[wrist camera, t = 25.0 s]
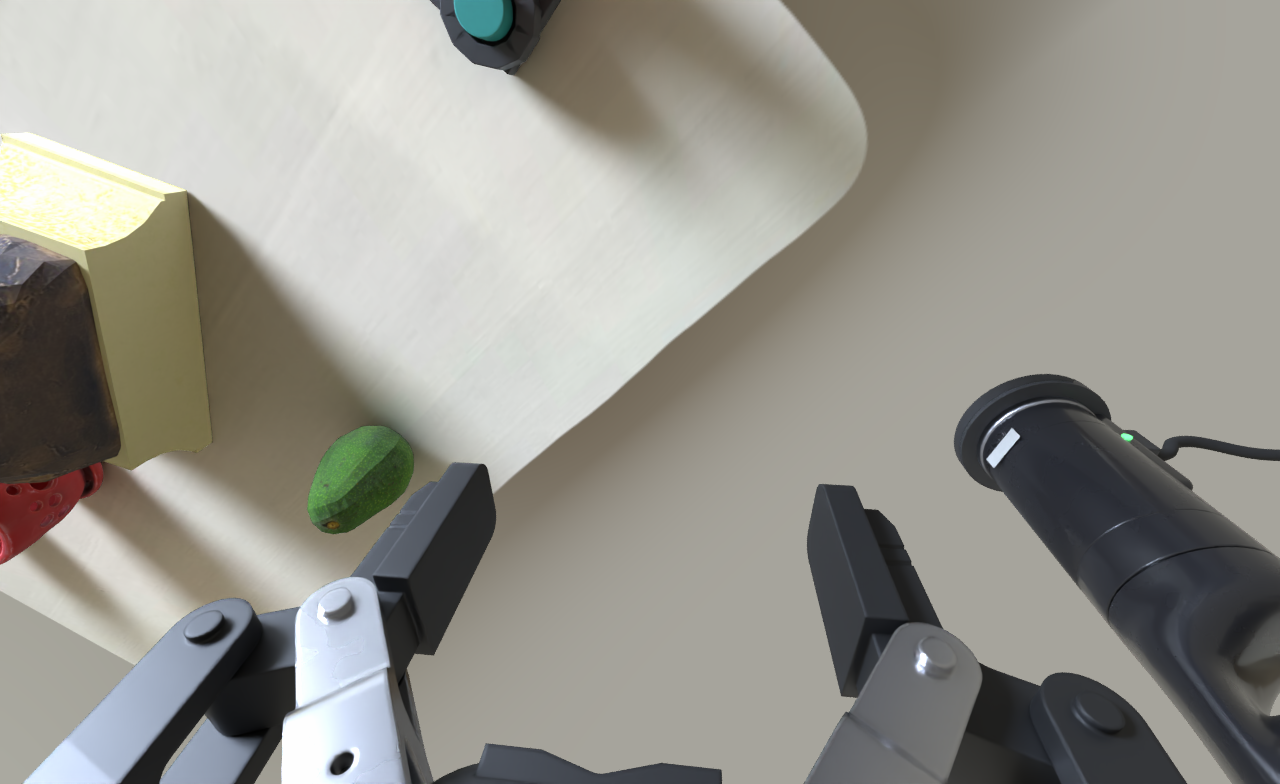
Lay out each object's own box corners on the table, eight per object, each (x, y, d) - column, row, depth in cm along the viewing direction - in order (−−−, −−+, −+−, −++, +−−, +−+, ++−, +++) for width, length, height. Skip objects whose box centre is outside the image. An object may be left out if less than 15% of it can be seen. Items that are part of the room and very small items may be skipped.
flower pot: (69, 501, 64) (-54, 577, 54) (-19, 414, 58) (-175, 481, 48) (146, 486, 61) (32, 563, 51) (62, 394, 56) (-85, 459, 45)
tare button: (523, 7, 32) (514, 2, 31) (496, 53, 34) (486, 50, 32) (481, -34, 31) (470, -42, 30) (455, 14, 33) (443, 9, 31)
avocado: (386, 478, 57) (315, 561, 46) (342, 422, 53) (255, 497, 43) (445, 460, 54) (384, 543, 44) (403, 400, 51) (326, 474, 41)
